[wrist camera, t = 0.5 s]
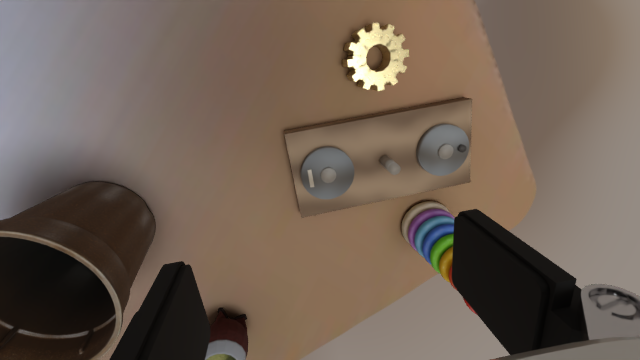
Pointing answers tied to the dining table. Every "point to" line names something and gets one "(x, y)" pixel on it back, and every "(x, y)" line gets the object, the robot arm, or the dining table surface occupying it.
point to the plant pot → (70, 272)
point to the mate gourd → (228, 338)
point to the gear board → (380, 156)
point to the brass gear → (390, 56)
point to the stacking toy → (432, 236)
